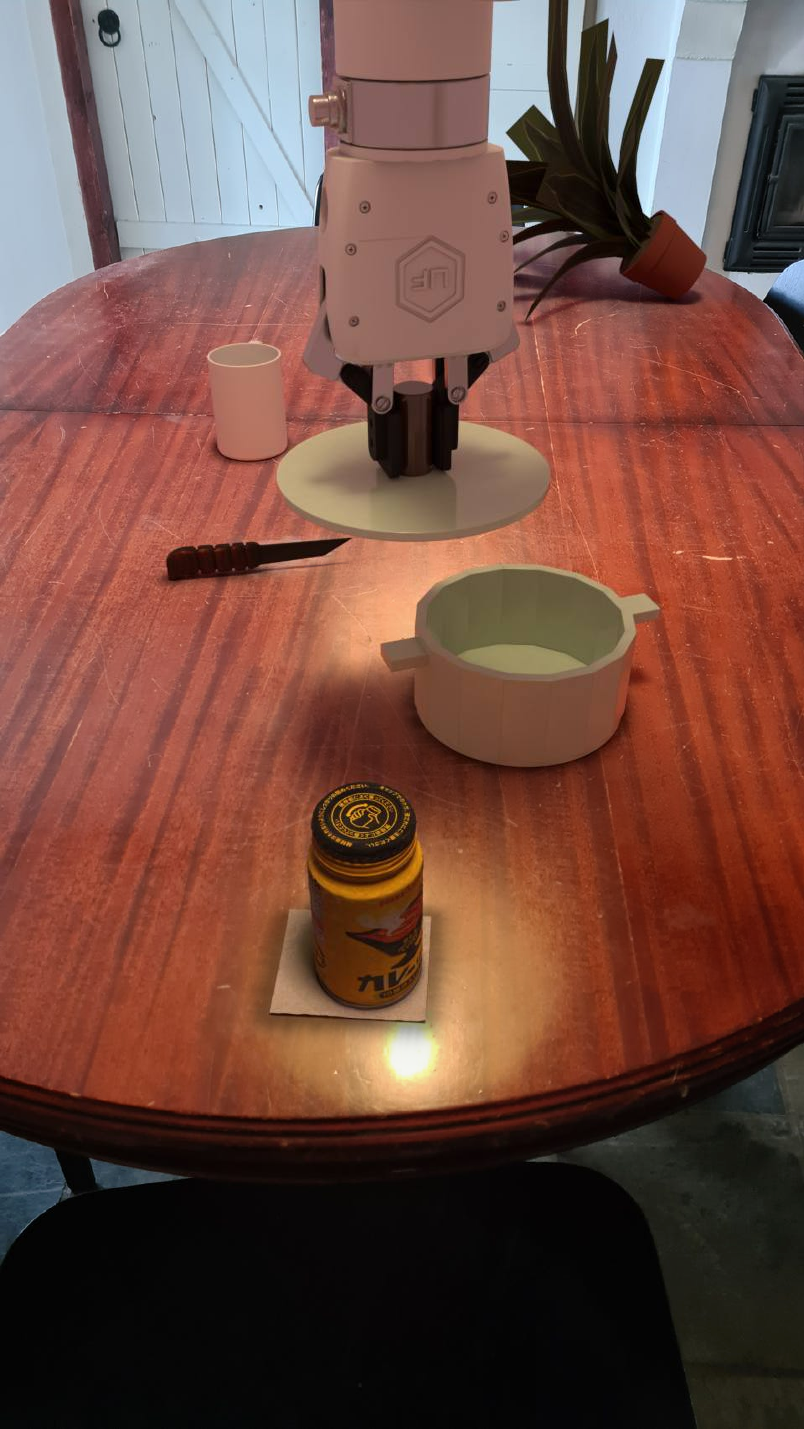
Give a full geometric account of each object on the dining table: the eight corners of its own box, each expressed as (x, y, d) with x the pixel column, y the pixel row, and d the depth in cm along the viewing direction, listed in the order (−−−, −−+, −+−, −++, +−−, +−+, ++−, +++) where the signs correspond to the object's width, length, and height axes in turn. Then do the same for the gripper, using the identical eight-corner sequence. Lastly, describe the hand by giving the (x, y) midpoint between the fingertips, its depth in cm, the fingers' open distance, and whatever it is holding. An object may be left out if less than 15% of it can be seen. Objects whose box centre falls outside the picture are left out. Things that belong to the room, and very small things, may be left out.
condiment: (425, 1022, 56) (427, 865, 48) (269, 1014, 56) (248, 858, 49) (431, 919, 61) (434, 765, 54) (290, 912, 62) (273, 758, 55)
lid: (596, 526, 59) (609, 421, 55) (315, 572, 55) (308, 463, 51) (488, 421, 72) (492, 330, 68) (252, 453, 68) (243, 358, 64)
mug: (283, 462, 114) (275, 367, 107) (212, 461, 114) (200, 366, 108) (296, 420, 123) (290, 330, 117) (230, 419, 124) (221, 330, 117)
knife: (353, 561, 96) (351, 531, 94) (354, 565, 95) (353, 536, 93) (169, 576, 94) (164, 547, 92) (168, 581, 93) (164, 552, 91)
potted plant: (737, 137, 170) (525, -31, 158) (862, 94, 134) (599, -127, 122) (585, 383, 182) (377, 245, 170) (662, 404, 146) (405, 231, 134)
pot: (693, 733, 75) (711, 647, 71) (422, 796, 70) (423, 708, 65) (594, 624, 87) (604, 545, 83) (356, 671, 82) (352, 589, 77)
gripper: (270, 138, 46) (297, 511, 58) (594, 119, 50) (561, 472, 62) (238, 115, 52) (269, 459, 63) (531, 100, 56) (512, 426, 67)
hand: (413, 463), depth 62 cm, fingers closed on lid, 2 cm apart
